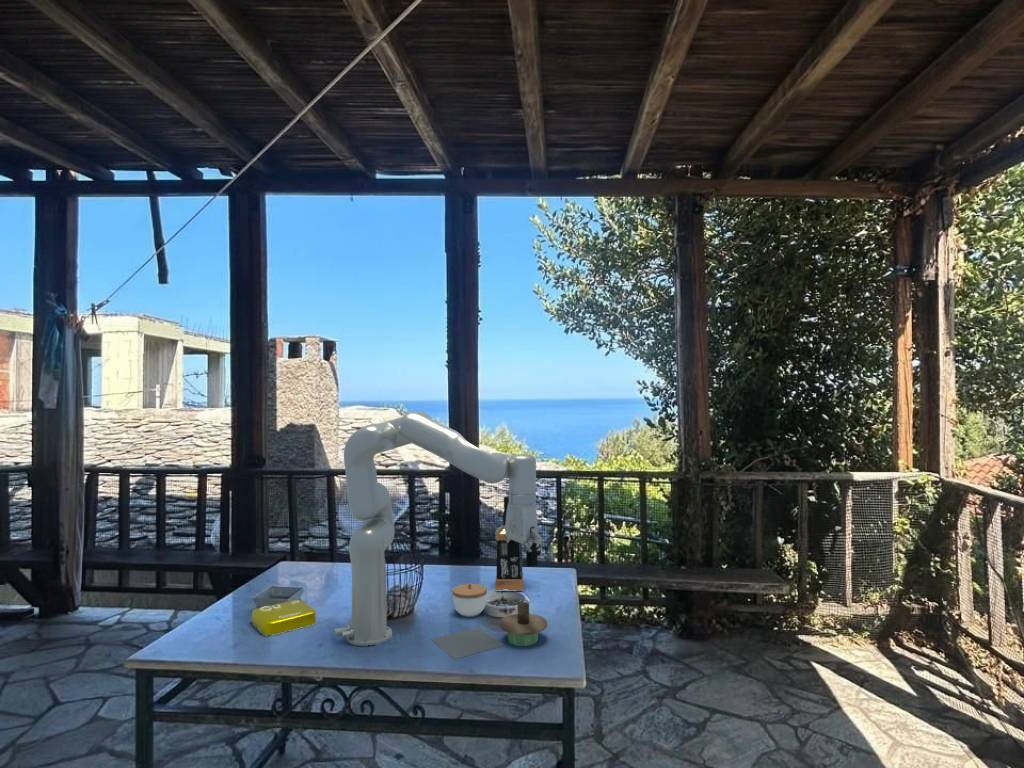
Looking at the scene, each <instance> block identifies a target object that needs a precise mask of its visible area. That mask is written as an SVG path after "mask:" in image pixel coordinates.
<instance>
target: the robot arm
mask: <svg viewBox="0 0 1024 768" xmlns="http://www.w3.org/2000/svg"><path fill="white" fill-rule="evenodd" d="M410 444H413V445H415V446H417V447H419V448H421V449H423V450H426V452H429V453H431V454H433V455H435V456H437V457H439V458H441V459H443V460H445V461H446V462H448V464H451V465H452V466H454V467H455V468H457V469H459V470H461V471H462V472H464V473H466V474H468V475H470V476H472V477H474V478H476V479H478V480H480V481H482V482H485V483H487V484H498V483H500V482H502V480H504V479H508V496H509V503H508V506H507V513H506V525H504V529H505V536H506V538H507V539H506V542H507V543H508V544H507V557H508V558H513V557H517V556H518V543H521V544H522V545H523V544H525V547H526V549H527V551H526V553H525V554H526V555H525V557H526V558H525V559H526V561H525V562H526V563H525V564H526V565H525V566H526V567H528V568H529V567H534V566H537V565H538V551H539V550H540V549H539V548H540V547H541V542H542V539H543V537H542V536H541V535H540V534H539V532H538V531H539V530H538V527H539V526H538V515H537V507H536V505H537V503H536V501H537V493H536V492H537V459H536V457H535V456H534V455H532V454H522V453H521V454H507V453H501V452H494V453H489V452H488V451H485V450H483V449H481V448H480V447H477V446H475V445H474V444H472V443H470V442H469V441H468V440H466V439H465V438H464V436H463V435H462V434H461V433H460V432H458V431H457V430H455V429H452V428H451V427H449V426H446V425H444V424H442V423H440V422H438V421H435V420H434V419H432V417H431V416H430V415H429V414H428V413H426V412H424V411H418V410H417V411H410V412H407V413H405V414H404V415H403V416H401V417H397V418H394V419H390V420H388V421H384V422H379V423H378V422H377V423H372V424H367V425H364V426H362V427H360V428H359V429H357V430H356V431H355V432H353V433H352V434H351V435H350V436H349V437H348V439H347V441H346V442H345V445H344V449H343V462H344V463H343V464H344V471H345V480H346V481H345V483H346V490H347V491H346V492H347V501H348V502H347V503H348V509H349V513H350V514H351V516H353V518H355V520H358V521H361V522H362V523H361V524H362V525H361V526H359V527H358V528H356V530H355V531H354V532H353V533H352V535H351V537H350V539H349V545H348V553H349V557H350V558H349V559H350V566H351V620H350V621H348V624H347V625H345V626H344V627H337V628H334V631H333V633H334V636H335V637H338V636H339V637H340V636H341V637H342V638H345V639H346V642H347V643H349V644H350V645H353V646H357V645H358V646H360V647H369V646H368V645H370V646H375V645H379V644H381V643H384V642H387V641H389V639H391V638H392V636H393V630H392V628H391V627H390V626H387V625H388V624H387V565H386V558H385V550H386V549H388V547H390V545H391V544H392V543H393V542H394V539H395V521H394V520H395V519H394V513H393V506H392V497H391V495H390V492H389V490H388V488H387V487H386V486H385V485H384V484H383V483H380V482H378V477H377V476H378V475H377V473H378V472H377V467H376V463H375V461H374V460H375V459H374V457H375V456H376V455H378V454H379V453H381V454H382V453H384V452H389V451H391V450H394V449H397V448H401V447H404V446H406V445H410ZM517 542H518V543H517ZM358 646H357V647H358Z"/></svg>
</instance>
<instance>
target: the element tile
mask: <svg viewBox="0 0 1024 768" xmlns="http://www.w3.org/2000/svg"><path fill="white" fill-rule="evenodd" d="M251 613H252V615H251V616H252V623H253V624H254V625H255V626H256V627H257V628H258V629H259V630H260V631H261V632H262V633H263V634H264V635H272V634H277V633H281V632H285V631H289V630H293V629H297V628H300V627H305V626H308V625H312V624H314V623H317V621H316V620H317V617H316V616H317V612H316V609H314V608H313V607H312V606H310V605H309V604H308V603H306V602H305V601H304V600H302V599H294V600H289V601H284V602H279V603H276V604H272V605H266V606H262V607H258V608H254V609H253V610H252V612H251ZM253 624H252V625H253ZM254 625H253V626H254ZM255 626H254V627H255ZM256 627H255V628H256Z"/></svg>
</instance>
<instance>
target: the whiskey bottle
mask: <svg viewBox="0 0 1024 768" xmlns="http://www.w3.org/2000/svg"><path fill="white" fill-rule="evenodd" d="M508 503H509V495H507V496H504V497H503V511H502V512H503V513H502V525H501V526H500V527H498V528H496V530H495V537H494V538H495V540H496V573H495V574H496V575H495V582H494V583H495V585H494V586H495V587H494V591H495V590H503V589H508V590H518V591H522V590H524V589H525V581H524V578H525V577H524V572H523V553H522V552H523V547H522V545H523V544H521V543H518V542H517V543H518V556H517V557H513V558H508V557H507V544H508V543H507V542H506V539H507V538H506V536H505V529H504V525H506V513H507V506H508ZM522 592H523V591H522Z"/></svg>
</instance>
